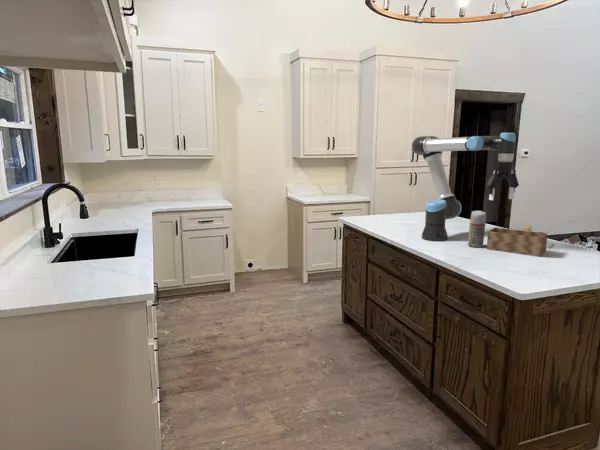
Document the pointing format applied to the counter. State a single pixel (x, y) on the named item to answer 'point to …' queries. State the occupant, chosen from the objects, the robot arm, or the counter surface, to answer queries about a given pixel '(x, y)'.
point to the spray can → (477, 229)
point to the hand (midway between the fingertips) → (501, 199)
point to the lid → (529, 228)
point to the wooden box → (517, 241)
